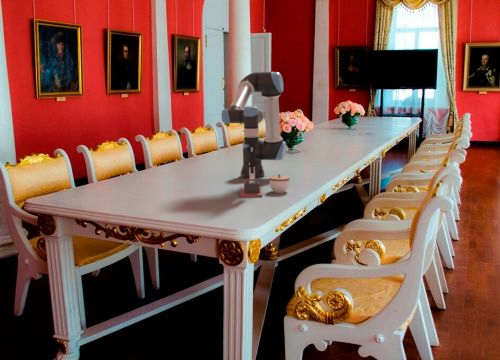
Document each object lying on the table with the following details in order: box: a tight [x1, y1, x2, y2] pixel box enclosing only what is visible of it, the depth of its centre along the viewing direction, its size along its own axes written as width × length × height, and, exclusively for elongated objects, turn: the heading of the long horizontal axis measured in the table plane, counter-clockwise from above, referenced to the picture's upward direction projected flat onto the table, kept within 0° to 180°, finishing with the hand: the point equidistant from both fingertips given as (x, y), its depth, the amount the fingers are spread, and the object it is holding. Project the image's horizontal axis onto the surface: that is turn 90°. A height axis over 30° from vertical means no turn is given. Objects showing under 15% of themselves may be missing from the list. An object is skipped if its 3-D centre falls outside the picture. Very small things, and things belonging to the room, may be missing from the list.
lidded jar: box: [269, 173, 291, 194], centre depth 282 cm, size 11×11×9 cm
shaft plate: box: [240, 180, 263, 198], centre depth 277 cm, size 16×11×7 cm
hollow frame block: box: [243, 180, 261, 193], centre depth 277 cm, size 8×7×5 cm
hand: (251, 177), depth 276 cm, fingers open, 13 cm apart
